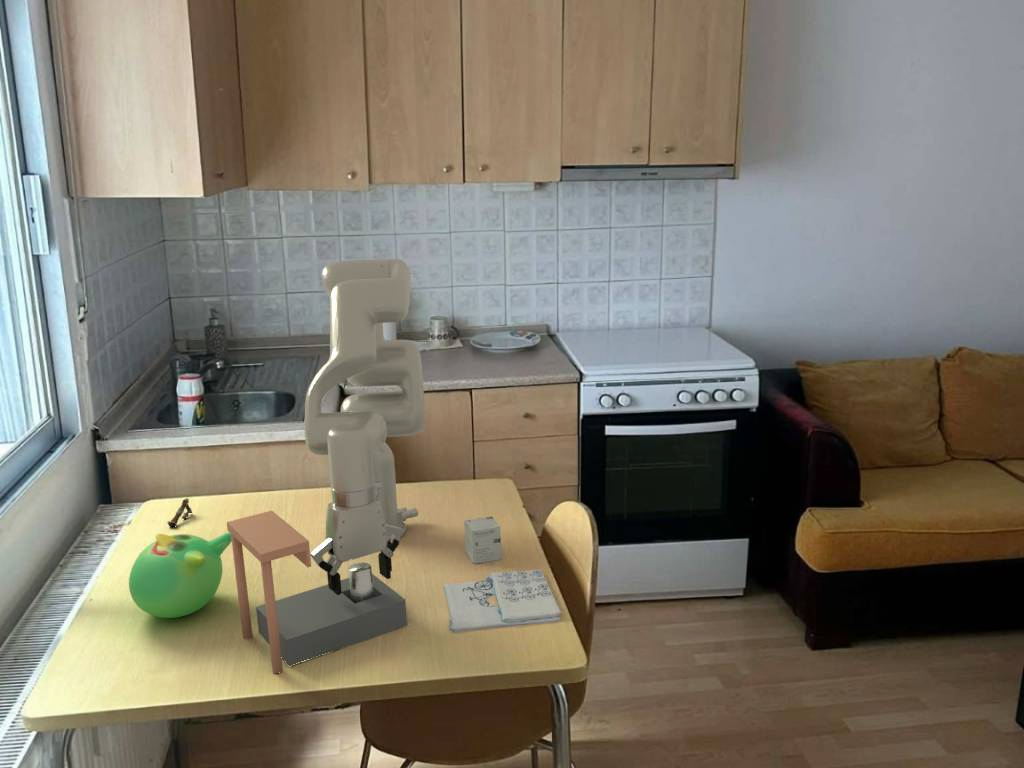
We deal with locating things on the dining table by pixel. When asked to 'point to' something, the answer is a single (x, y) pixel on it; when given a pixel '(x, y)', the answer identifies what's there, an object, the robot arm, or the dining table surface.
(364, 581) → the metal peg
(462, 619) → the folded cloth
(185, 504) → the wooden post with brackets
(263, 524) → the canopy
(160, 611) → the toy bird
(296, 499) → the dining table surface
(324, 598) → the socket plate
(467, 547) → the skincare box
